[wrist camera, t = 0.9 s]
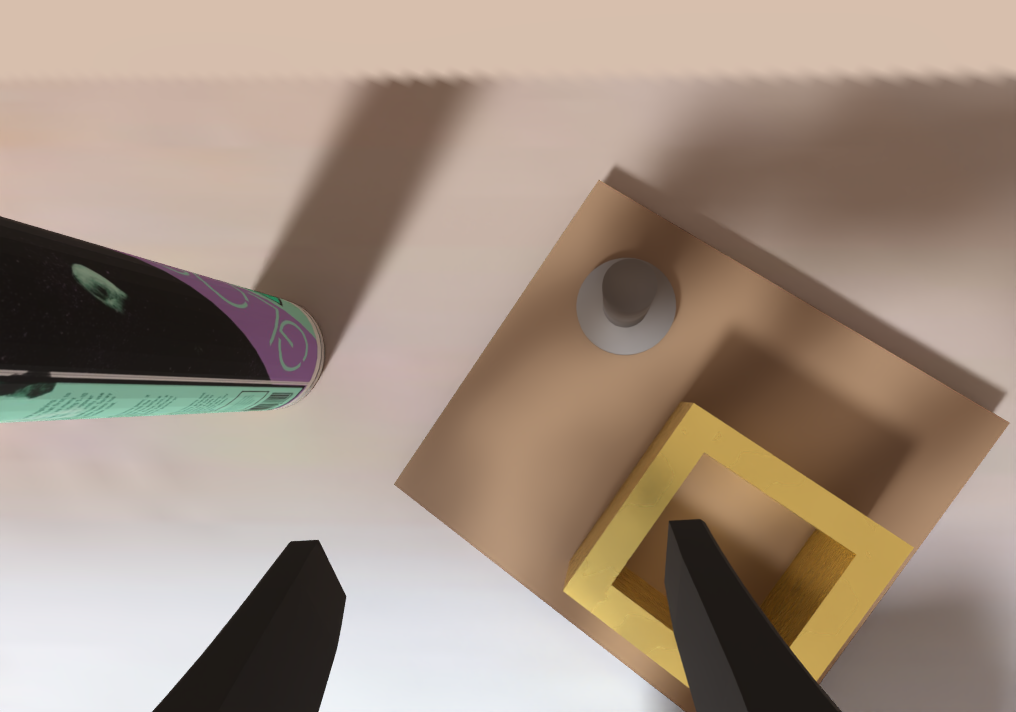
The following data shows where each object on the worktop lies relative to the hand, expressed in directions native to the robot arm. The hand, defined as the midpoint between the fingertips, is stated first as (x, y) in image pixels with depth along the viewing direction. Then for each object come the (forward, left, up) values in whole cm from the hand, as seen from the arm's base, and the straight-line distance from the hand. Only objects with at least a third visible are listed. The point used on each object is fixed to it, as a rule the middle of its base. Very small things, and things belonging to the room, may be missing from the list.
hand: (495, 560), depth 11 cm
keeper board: (-4, -4, -13) cm, 14 cm away
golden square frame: (-7, -2, -12) cm, 14 cm away
